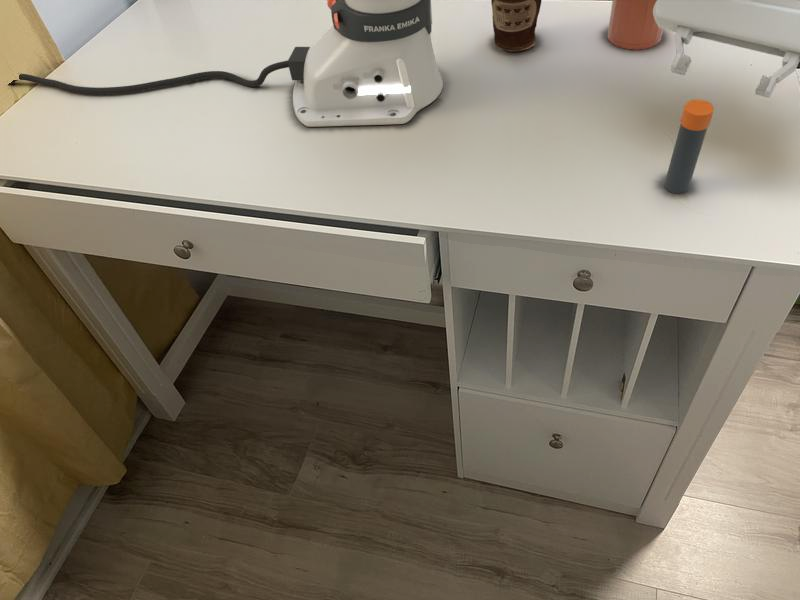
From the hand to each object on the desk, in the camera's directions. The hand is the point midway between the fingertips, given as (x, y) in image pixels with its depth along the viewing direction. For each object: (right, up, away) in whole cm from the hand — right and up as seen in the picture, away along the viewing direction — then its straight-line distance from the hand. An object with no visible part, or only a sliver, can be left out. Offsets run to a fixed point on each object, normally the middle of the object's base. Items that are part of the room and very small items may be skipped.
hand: (718, 83), depth 75 cm
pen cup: (+1, +17, +28) cm, 33 cm away
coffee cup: (-18, +16, +30) cm, 39 cm away
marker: (-2, -11, +5) cm, 12 cm away
